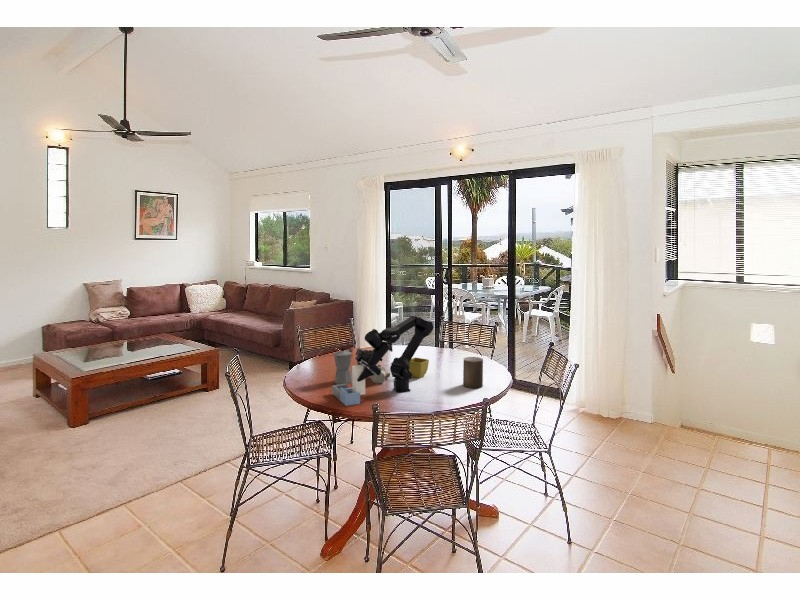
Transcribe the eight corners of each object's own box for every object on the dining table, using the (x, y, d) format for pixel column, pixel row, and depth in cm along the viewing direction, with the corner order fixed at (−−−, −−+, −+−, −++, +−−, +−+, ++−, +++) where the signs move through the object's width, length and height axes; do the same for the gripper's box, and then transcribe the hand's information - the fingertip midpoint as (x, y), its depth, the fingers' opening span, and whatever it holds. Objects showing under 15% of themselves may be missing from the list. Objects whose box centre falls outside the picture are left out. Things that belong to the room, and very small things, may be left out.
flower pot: (429, 375, 260) (429, 359, 259) (421, 379, 253) (421, 363, 252) (415, 373, 265) (415, 357, 264) (406, 377, 258) (406, 360, 256)
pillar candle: (482, 389, 237) (483, 359, 235) (462, 388, 239) (462, 358, 237) (482, 383, 247) (483, 354, 245) (463, 382, 249) (464, 353, 247)
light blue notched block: (353, 397, 225) (353, 385, 224) (360, 403, 217) (360, 390, 216) (339, 399, 222) (339, 387, 221) (345, 405, 214) (345, 392, 213)
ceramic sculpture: (367, 367, 244) (371, 361, 259) (367, 384, 244) (370, 377, 259) (388, 368, 243) (391, 362, 258) (388, 385, 244) (390, 378, 259)
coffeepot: (345, 386, 242) (345, 351, 239) (328, 384, 245) (328, 349, 243) (359, 378, 256) (358, 344, 253) (343, 376, 259) (342, 343, 257)
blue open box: (345, 391, 234) (345, 383, 233) (354, 398, 224) (354, 390, 223) (332, 393, 231) (332, 385, 230) (340, 400, 221) (340, 392, 220)
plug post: (361, 391, 224) (361, 364, 222) (365, 394, 220) (364, 367, 218) (352, 392, 222) (351, 366, 220) (356, 395, 218) (355, 368, 216)
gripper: (358, 338, 228) (336, 364, 225) (374, 346, 211) (350, 374, 208) (374, 352, 232) (353, 378, 229) (391, 361, 216) (368, 389, 213)
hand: (355, 379), depth 220 cm, fingers closed on plug post, 4 cm apart
